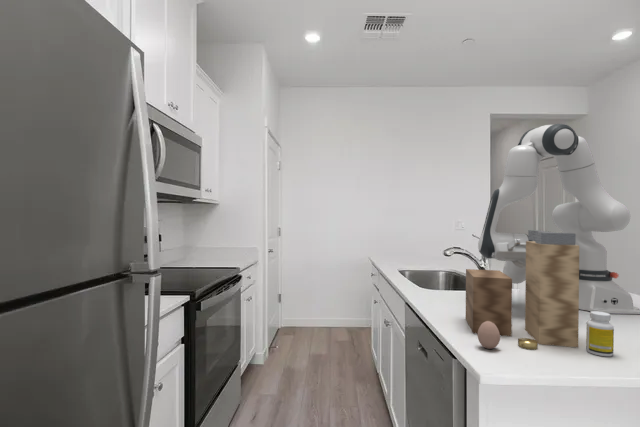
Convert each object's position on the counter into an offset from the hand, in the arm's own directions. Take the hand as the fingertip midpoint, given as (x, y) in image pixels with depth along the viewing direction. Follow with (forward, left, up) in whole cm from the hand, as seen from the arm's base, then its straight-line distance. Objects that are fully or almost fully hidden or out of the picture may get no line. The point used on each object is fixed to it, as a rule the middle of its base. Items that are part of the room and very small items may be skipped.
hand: (533, 241), depth 119 cm
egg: (+18, +28, -26) cm, 42 cm away
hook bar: (0, +10, 0) cm, 10 cm away
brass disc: (+8, +24, -26) cm, 36 cm away
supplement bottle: (-8, +24, -26) cm, 36 cm away
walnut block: (+15, +8, -26) cm, 31 cm away
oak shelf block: (0, +15, -26) cm, 30 cm away
